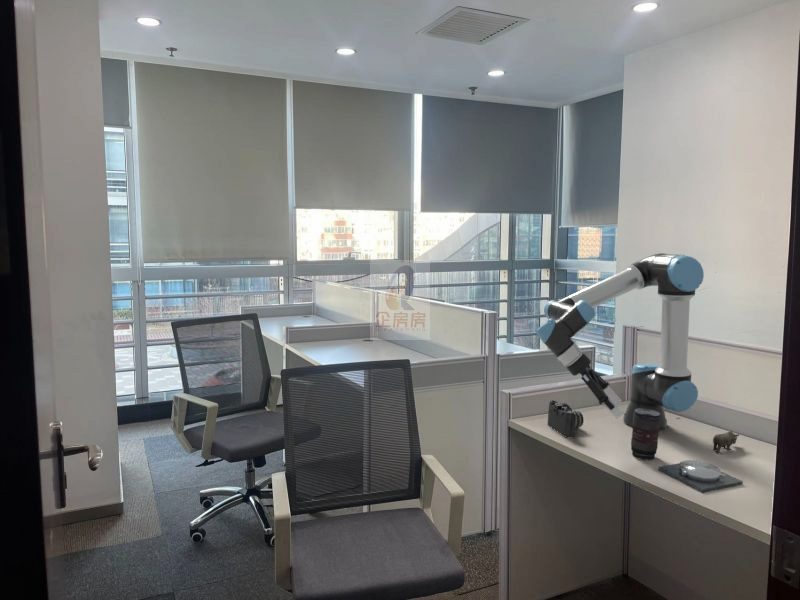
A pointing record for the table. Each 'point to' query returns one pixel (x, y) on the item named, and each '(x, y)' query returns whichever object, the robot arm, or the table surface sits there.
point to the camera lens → (645, 433)
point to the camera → (564, 418)
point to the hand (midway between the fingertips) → (619, 409)
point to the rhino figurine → (724, 440)
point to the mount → (700, 475)
